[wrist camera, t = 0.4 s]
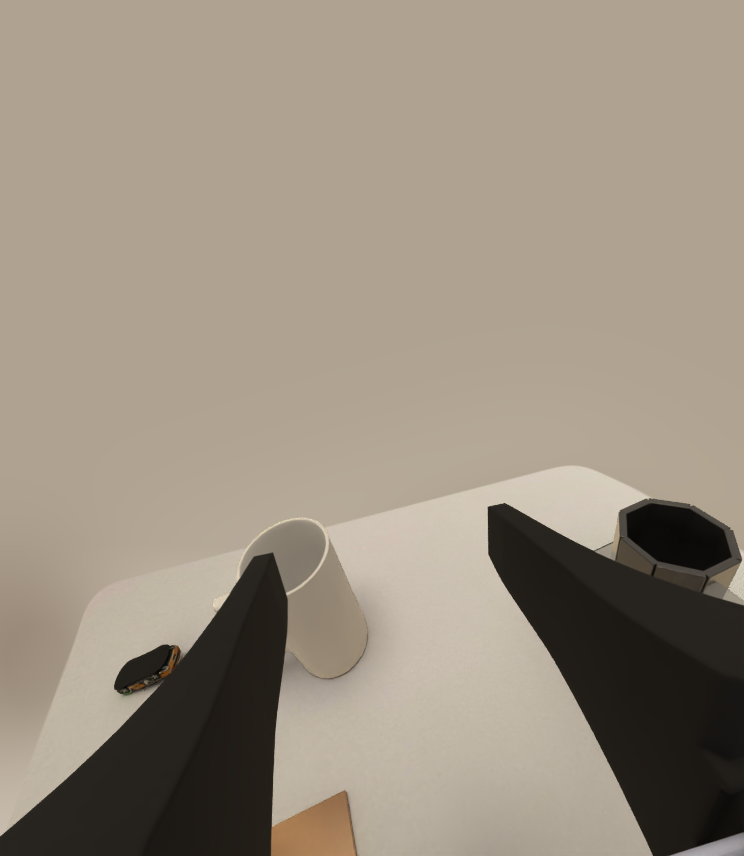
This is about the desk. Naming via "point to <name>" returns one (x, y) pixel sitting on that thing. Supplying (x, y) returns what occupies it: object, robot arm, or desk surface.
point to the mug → (312, 596)
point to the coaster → (316, 831)
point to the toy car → (147, 669)
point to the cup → (677, 545)
